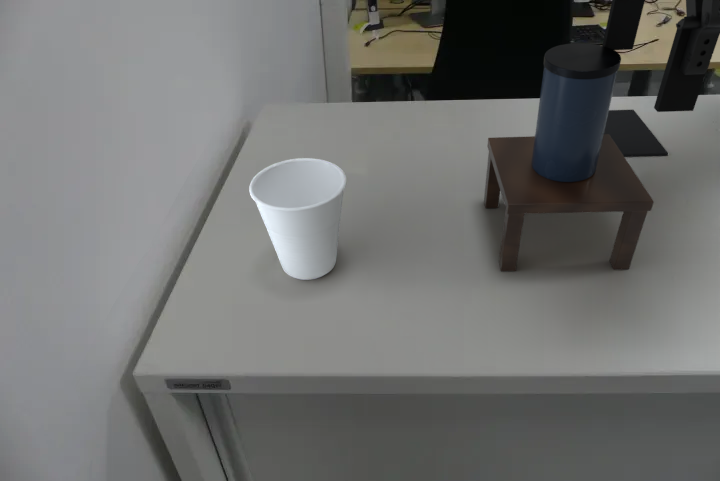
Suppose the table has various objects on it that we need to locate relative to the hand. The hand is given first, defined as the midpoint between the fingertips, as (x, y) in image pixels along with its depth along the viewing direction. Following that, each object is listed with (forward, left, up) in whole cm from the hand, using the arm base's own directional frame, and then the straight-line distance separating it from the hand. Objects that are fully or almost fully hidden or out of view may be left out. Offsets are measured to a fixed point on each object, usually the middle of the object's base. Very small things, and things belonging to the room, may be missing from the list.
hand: (642, 76), depth 49 cm
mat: (-9, -28, -21) cm, 36 cm away
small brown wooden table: (+4, -4, -21) cm, 22 cm away
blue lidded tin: (+4, -4, -12) cm, 13 cm away
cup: (+32, +1, -21) cm, 38 cm away
